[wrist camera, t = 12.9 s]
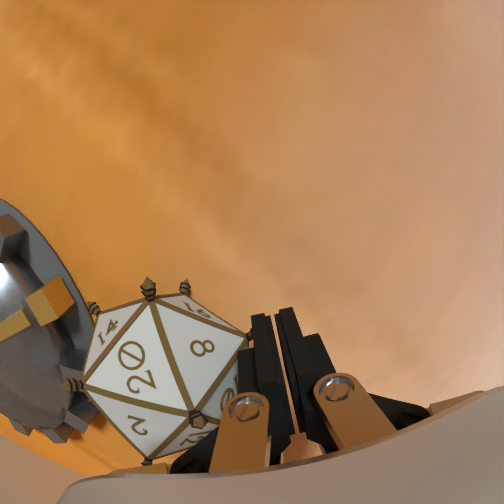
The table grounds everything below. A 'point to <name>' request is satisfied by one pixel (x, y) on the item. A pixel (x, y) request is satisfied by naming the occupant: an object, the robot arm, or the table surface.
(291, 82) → the table surface
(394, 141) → the table surface
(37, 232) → the mat
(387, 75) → the table surface
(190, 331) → the game die
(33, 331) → the grey dial
